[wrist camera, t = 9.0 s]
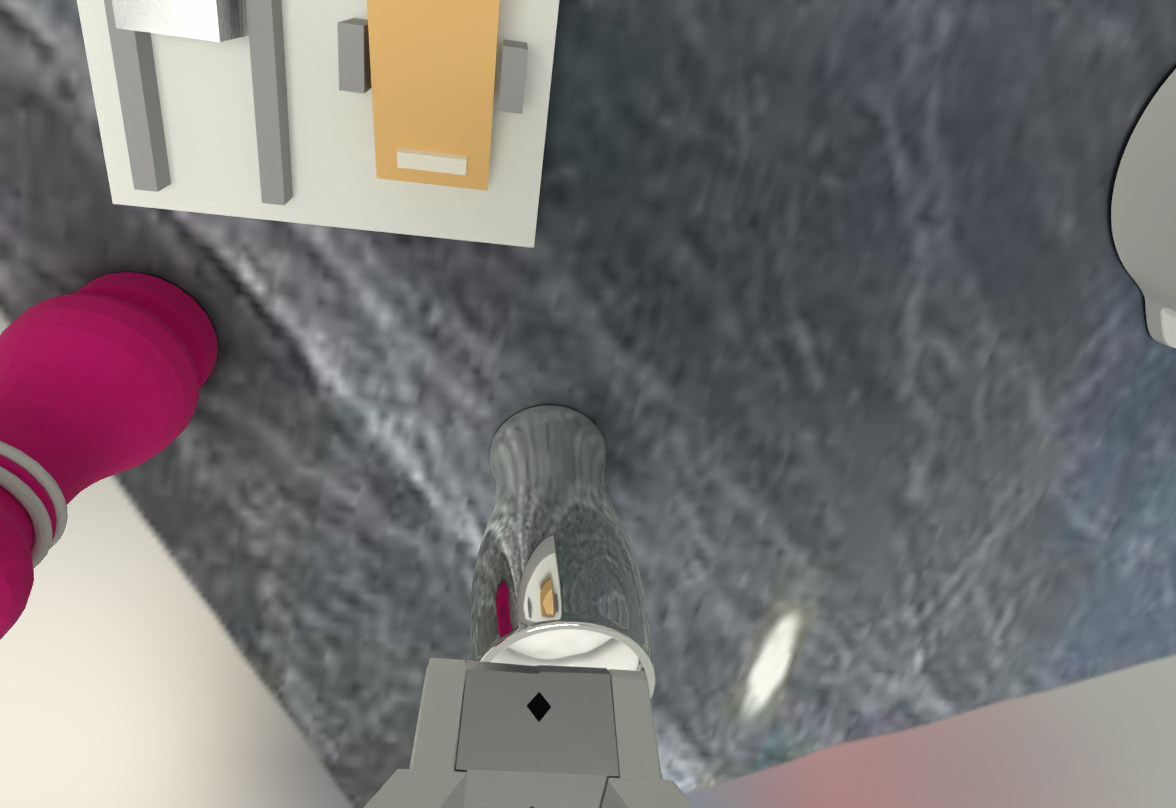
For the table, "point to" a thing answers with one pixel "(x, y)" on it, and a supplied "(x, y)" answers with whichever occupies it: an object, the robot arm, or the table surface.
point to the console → (305, 122)
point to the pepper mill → (88, 404)
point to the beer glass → (556, 554)
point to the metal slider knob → (184, 18)
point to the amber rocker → (433, 89)
